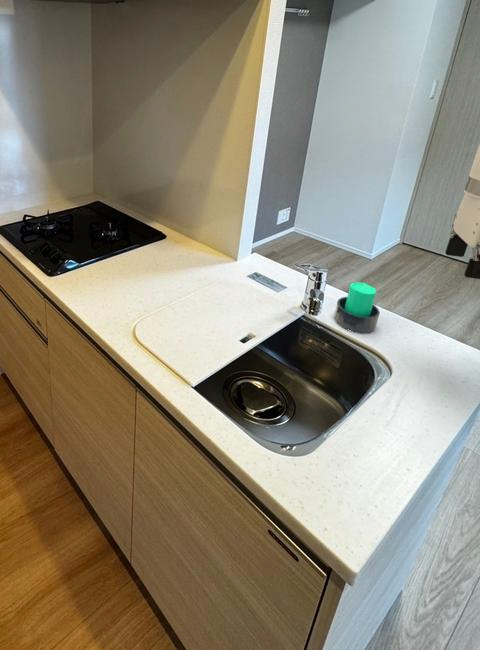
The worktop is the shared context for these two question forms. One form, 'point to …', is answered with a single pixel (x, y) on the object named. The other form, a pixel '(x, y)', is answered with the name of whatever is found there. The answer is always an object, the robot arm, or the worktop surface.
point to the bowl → (355, 318)
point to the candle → (360, 299)
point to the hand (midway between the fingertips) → (463, 266)
